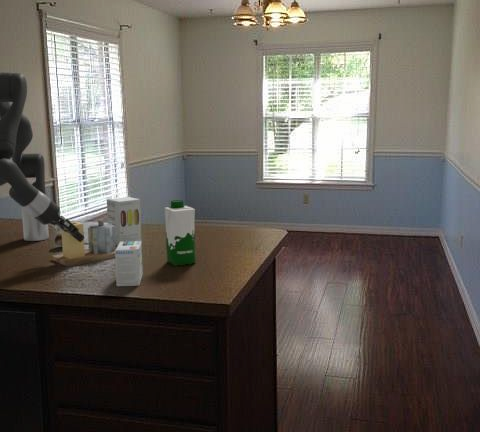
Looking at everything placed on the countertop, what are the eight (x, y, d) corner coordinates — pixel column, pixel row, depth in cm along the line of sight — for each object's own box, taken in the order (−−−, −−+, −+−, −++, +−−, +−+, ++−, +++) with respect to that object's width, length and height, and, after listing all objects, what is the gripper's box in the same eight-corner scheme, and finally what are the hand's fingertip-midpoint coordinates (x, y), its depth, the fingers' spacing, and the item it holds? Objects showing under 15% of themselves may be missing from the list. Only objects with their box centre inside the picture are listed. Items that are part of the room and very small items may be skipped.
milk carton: (188, 257, 191) (186, 199, 187) (199, 264, 183) (197, 202, 179) (163, 261, 187) (161, 201, 183) (173, 267, 179) (171, 204, 175)
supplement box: (119, 247, 207) (117, 201, 204) (107, 243, 214) (105, 198, 211) (142, 243, 213) (140, 198, 210) (129, 239, 220) (127, 196, 217)
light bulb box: (120, 276, 170) (118, 241, 168) (143, 275, 171) (141, 240, 169) (115, 286, 160) (114, 249, 158) (140, 286, 160) (138, 248, 158)
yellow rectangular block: (62, 256, 188) (61, 223, 186) (77, 253, 192) (75, 221, 190) (70, 259, 185) (68, 225, 183) (84, 256, 188) (83, 223, 186)
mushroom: (69, 242, 201) (67, 226, 204) (50, 249, 203) (49, 234, 206) (83, 248, 208) (81, 233, 211) (65, 255, 210) (63, 240, 213)
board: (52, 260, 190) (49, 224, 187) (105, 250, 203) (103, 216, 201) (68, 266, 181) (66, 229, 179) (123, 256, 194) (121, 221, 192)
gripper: (58, 200, 174) (95, 232, 184) (38, 195, 185) (74, 226, 195) (42, 219, 172) (81, 251, 182) (23, 213, 182) (61, 243, 192)
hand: (77, 238), depth 188 cm, fingers open, 5 cm apart
